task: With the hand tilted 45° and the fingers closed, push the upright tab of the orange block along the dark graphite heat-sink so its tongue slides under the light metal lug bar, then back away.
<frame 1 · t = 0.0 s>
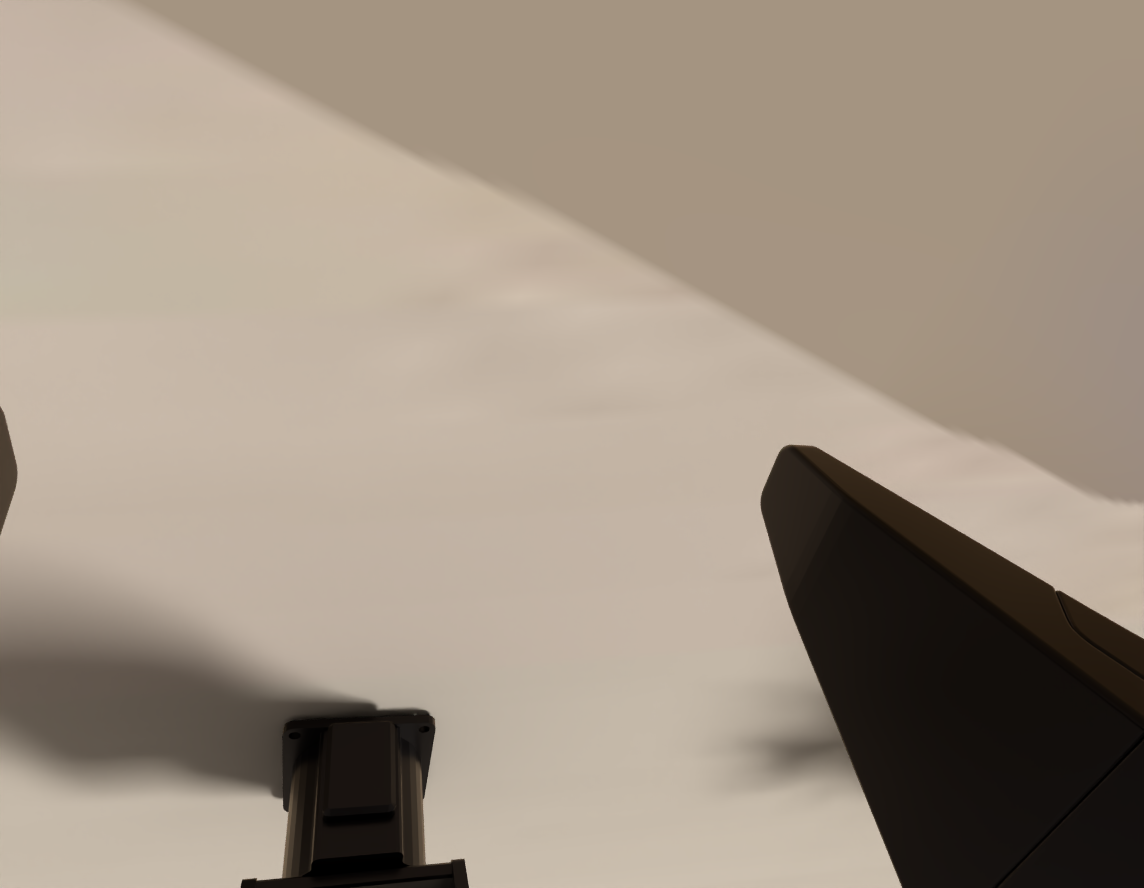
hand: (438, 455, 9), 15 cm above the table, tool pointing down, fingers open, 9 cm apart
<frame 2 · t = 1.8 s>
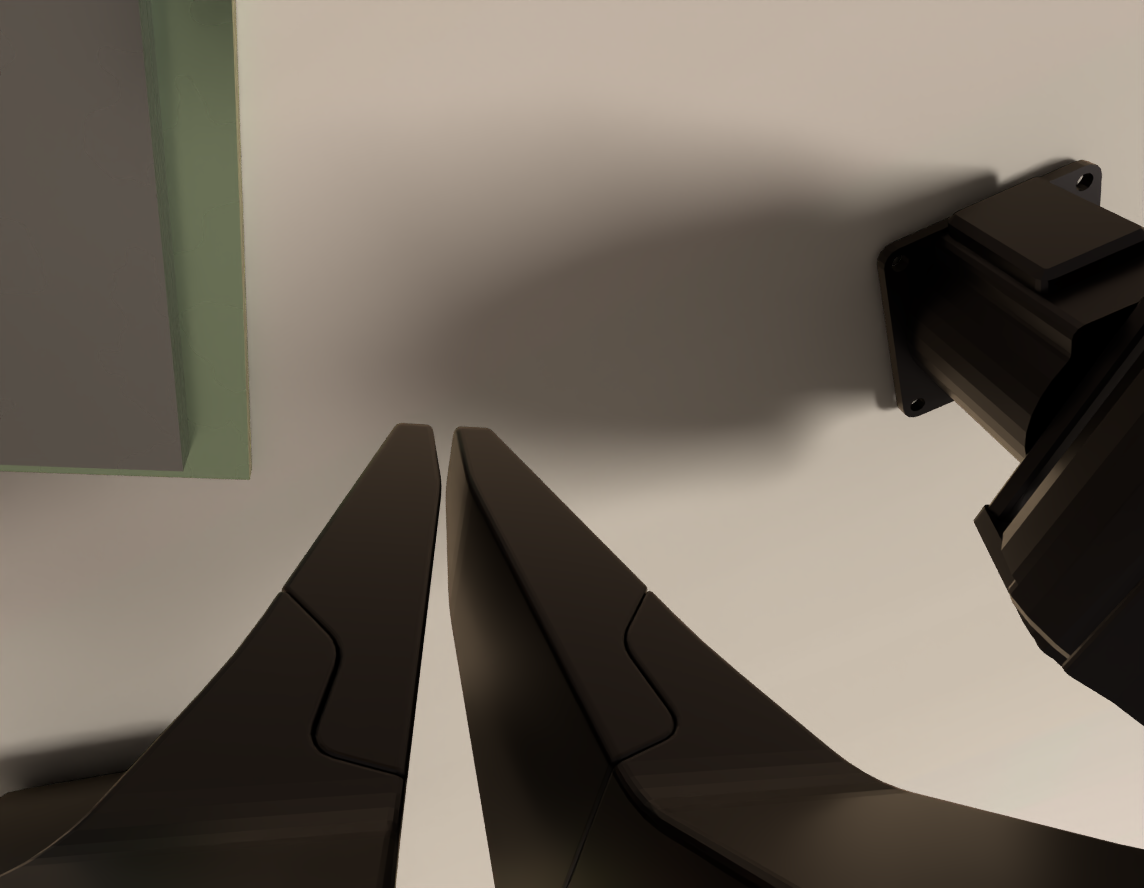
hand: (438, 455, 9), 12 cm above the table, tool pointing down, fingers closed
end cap: (161, 773, 31), on the table
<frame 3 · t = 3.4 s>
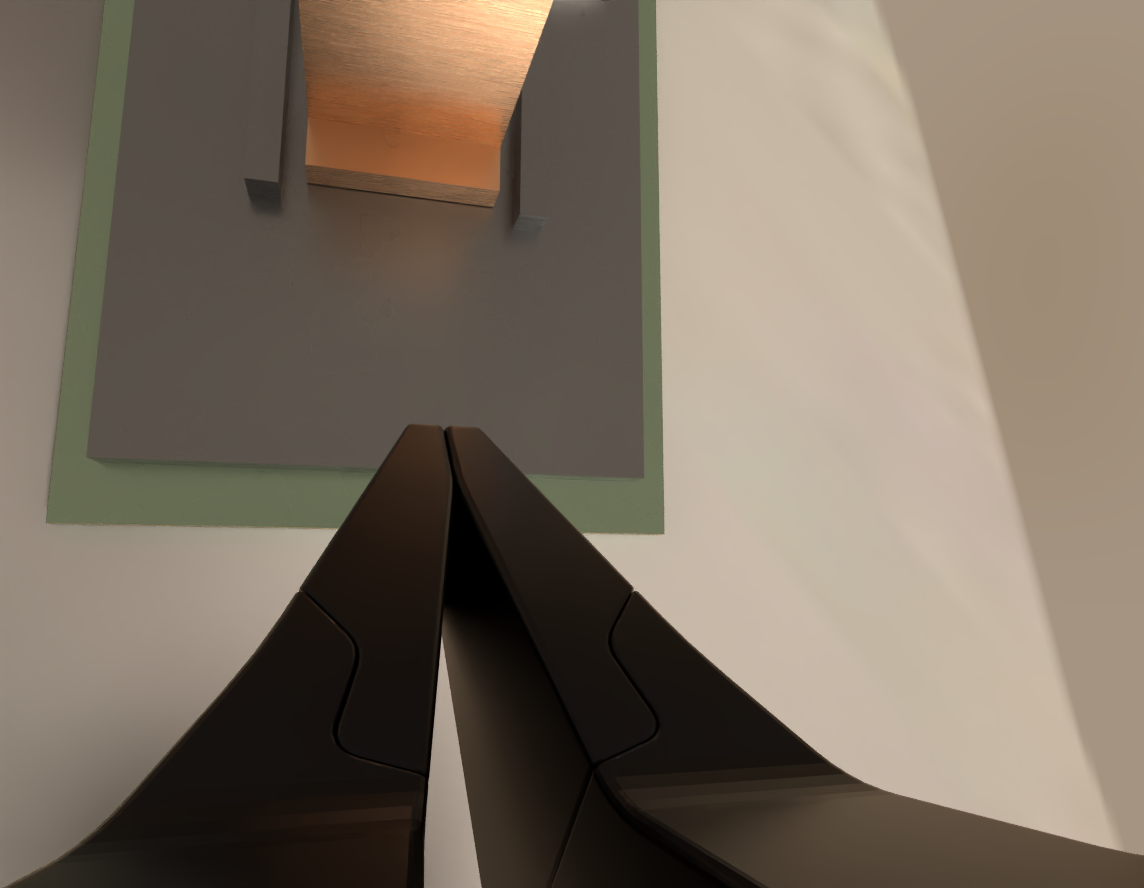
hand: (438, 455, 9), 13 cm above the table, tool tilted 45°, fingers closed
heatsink: (403, 111, 24), on the table
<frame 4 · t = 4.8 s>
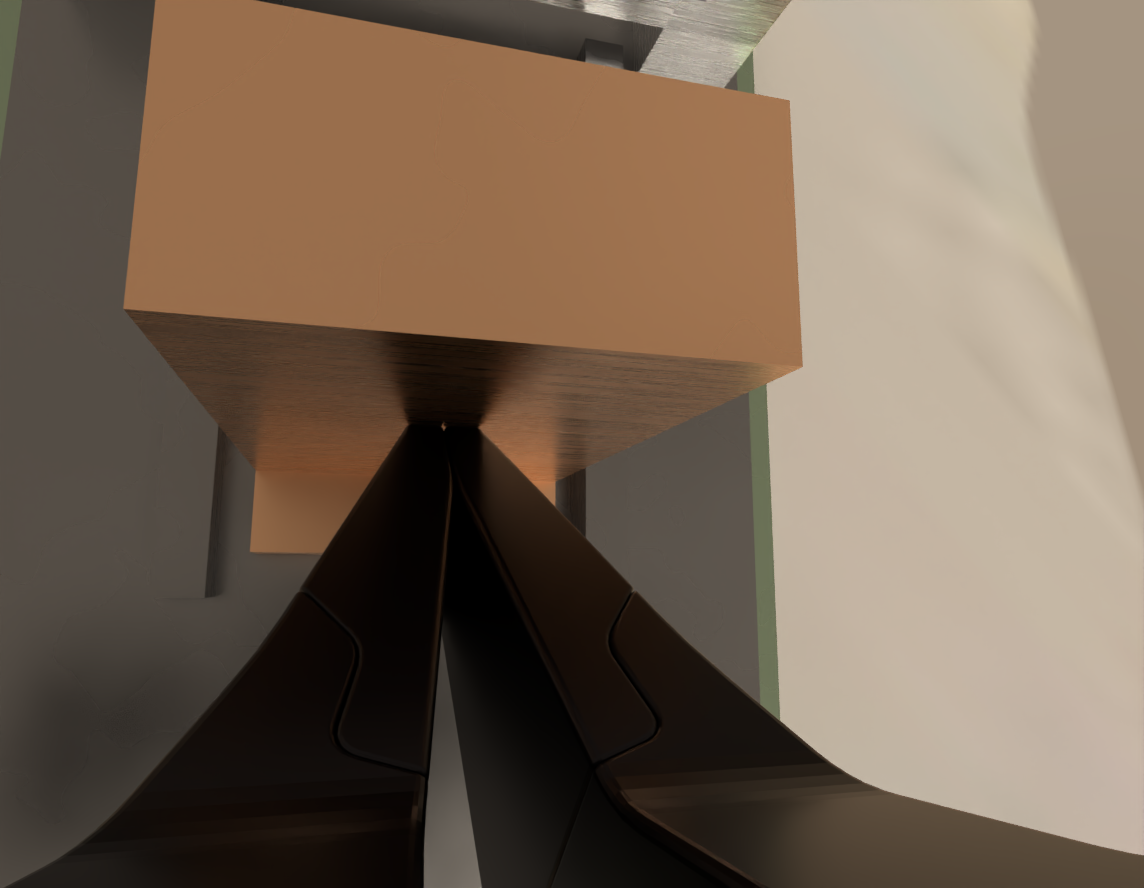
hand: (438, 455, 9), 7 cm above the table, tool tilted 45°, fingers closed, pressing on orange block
orange block: (442, 243, 11), point 6 cm above the table, slide at 0.2 cm, touching gripper
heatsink: (405, 395, 16), on the table
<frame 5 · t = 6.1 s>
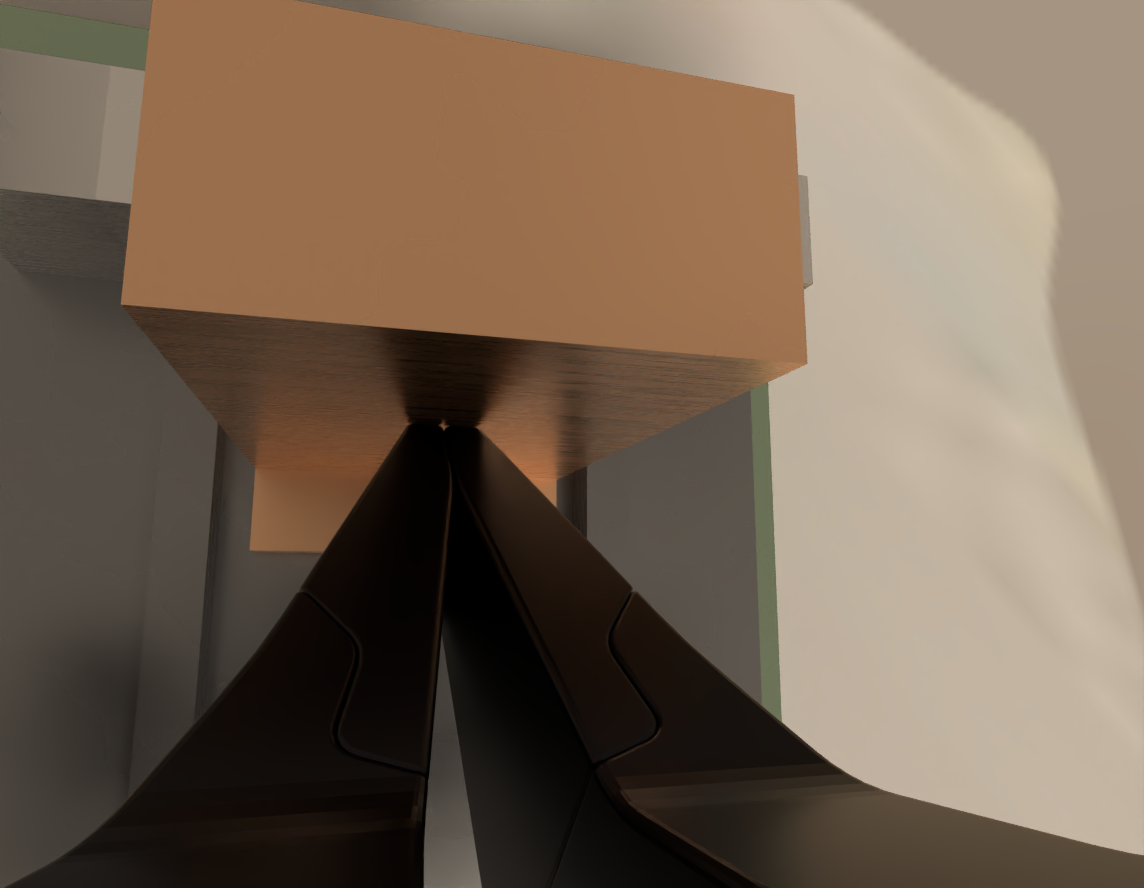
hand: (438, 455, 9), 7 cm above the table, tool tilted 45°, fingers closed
orange block: (442, 240, 10), point 6 cm above the table, slide at 5.8 cm
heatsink: (394, 682, 15), on the table
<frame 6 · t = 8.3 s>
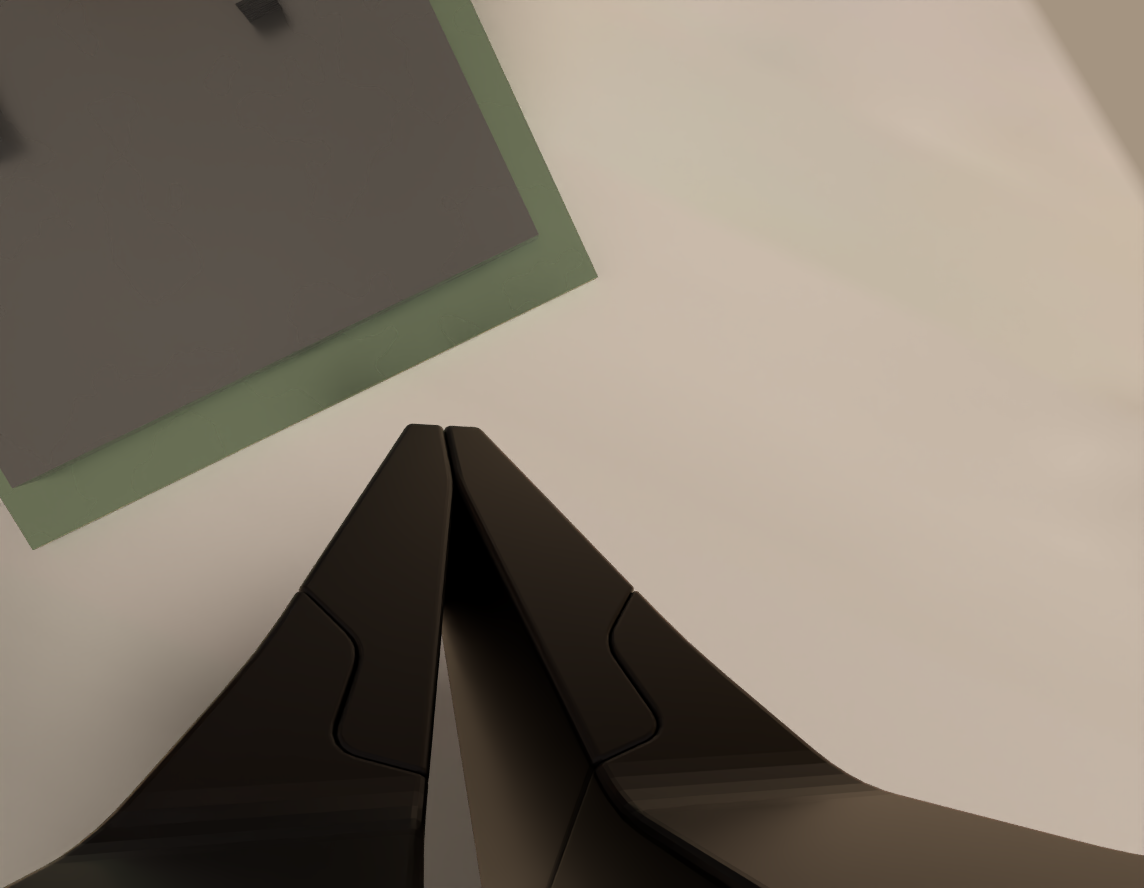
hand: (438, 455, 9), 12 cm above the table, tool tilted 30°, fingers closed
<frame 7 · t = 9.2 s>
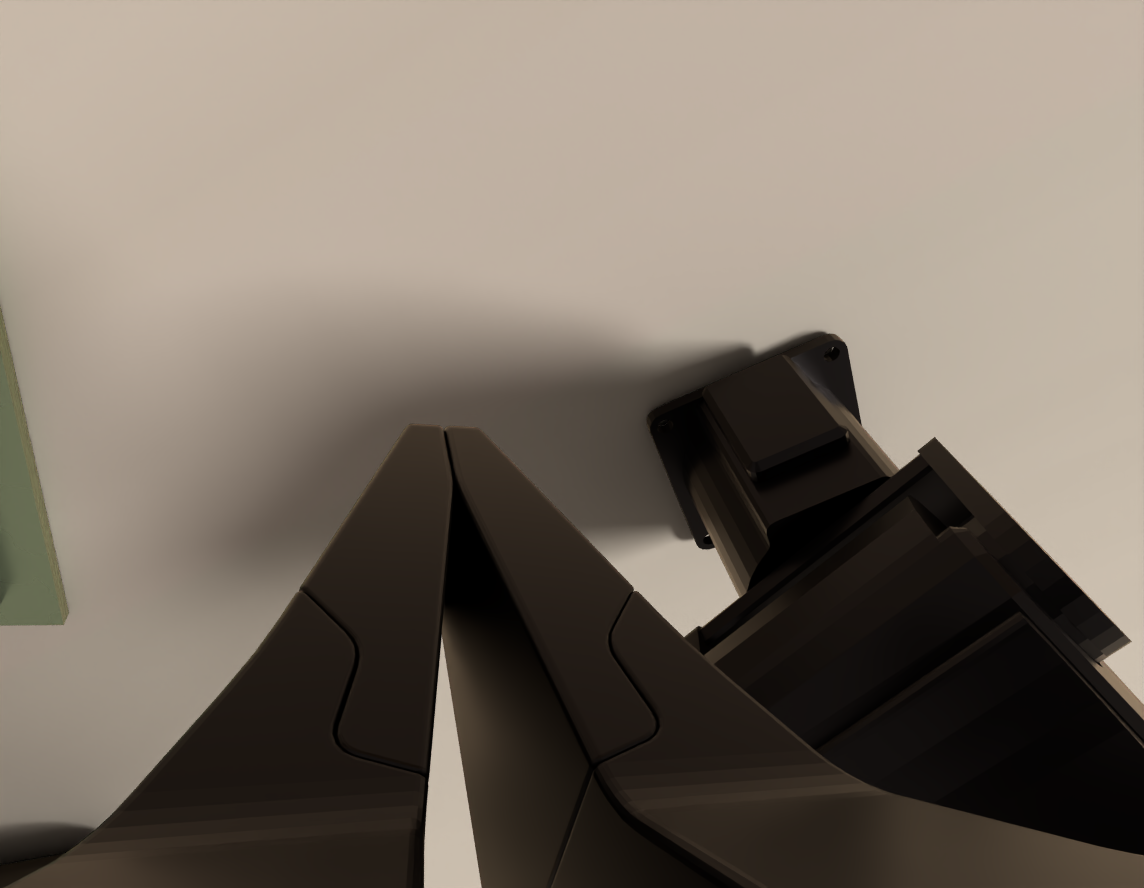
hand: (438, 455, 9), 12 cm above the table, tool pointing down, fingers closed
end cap: (26, 865, 33), on the table
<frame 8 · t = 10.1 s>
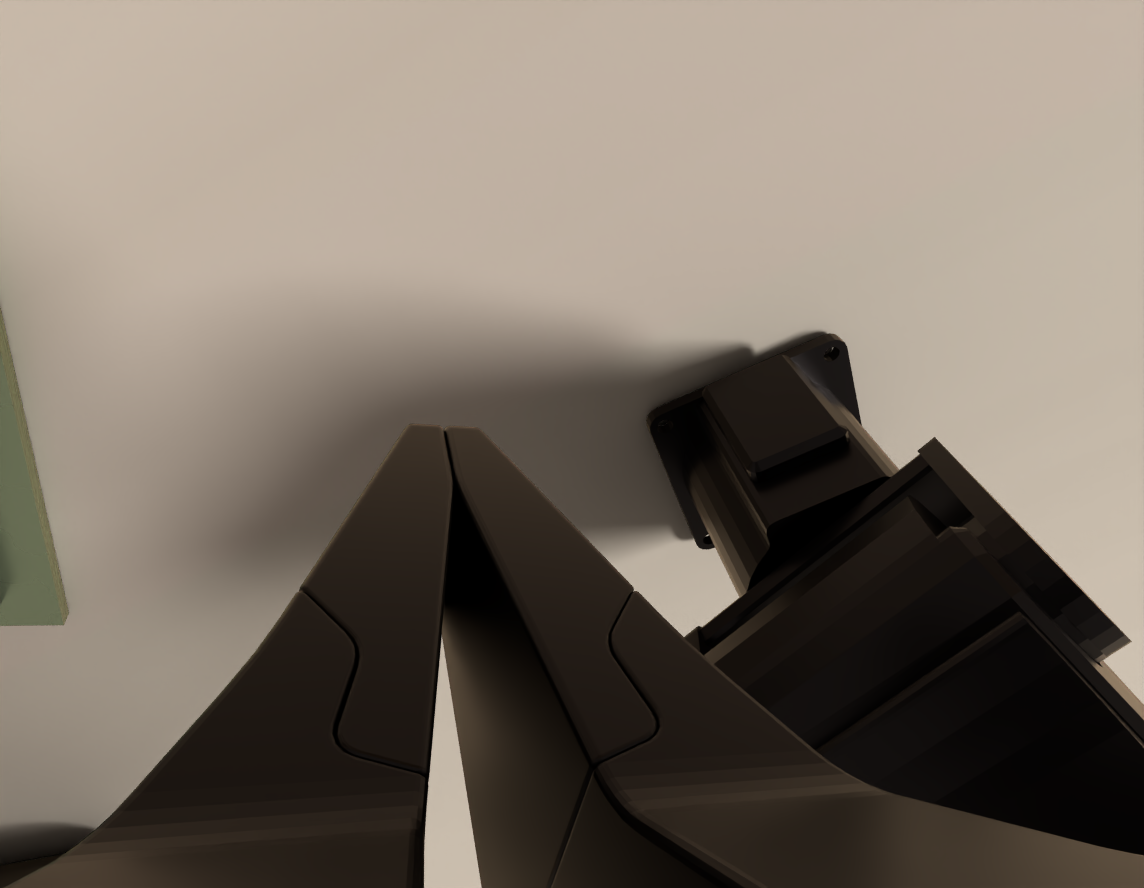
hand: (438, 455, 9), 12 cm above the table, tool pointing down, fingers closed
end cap: (26, 866, 33), on the table
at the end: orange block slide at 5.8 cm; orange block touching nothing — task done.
